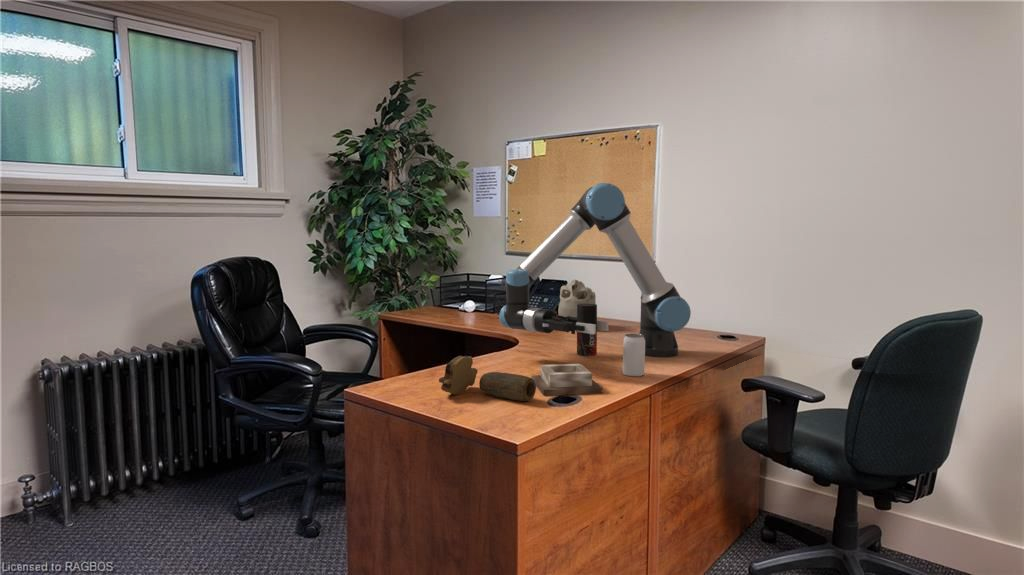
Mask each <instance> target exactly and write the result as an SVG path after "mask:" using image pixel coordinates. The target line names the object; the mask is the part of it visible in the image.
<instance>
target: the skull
mask: <svg viewBox="0 0 1024 575" xmlns="http://www.w3.org/2000/svg"><path fill="white" fill-rule="evenodd" d="M559 292H560V293H559V294H560V295H559V299H560V301H559V303H558V304H559V305H558V310H557V312H558V315H560V316H564V317H567V316H571V317H577V304H597V303H596V293H595V291H593V290H592V289H591V288H590V287H589V286H588V287H586V286H585V284H584V283H583V282H582V281H579V280H577V279H572V280H571V281H570V283H568V284H566V285H565V284H564V285H562V286H561V287H560V290H559Z"/></svg>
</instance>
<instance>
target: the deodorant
mask: <svg viewBox="0 0 1024 575" xmlns="http://www.w3.org/2000/svg"><path fill="white" fill-rule="evenodd" d="M597 321H598V304H597V303H596V304H577V322H578V323H586V324H595V325H596V334H589V333H582V332H576V355H577V356H581V357H595V356H597V354H598V352H597V351H598V350H597V348H598V347H597V346H598V345H597V344H598V342H597V341H598V340H597V338H598V337H597V336H598V334H597V333H598V330H597Z"/></svg>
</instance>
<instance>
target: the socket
mask: <svg viewBox="0 0 1024 575" xmlns="http://www.w3.org/2000/svg"><path fill="white" fill-rule="evenodd" d="M531 378H532V379H533V380H534V381H535V384H536V389H538V391H540V393H541V394H542V395H543V396H544V397H545V396H546V397H547V396H568V395H567V394H572V395H592V394H593V395H595V394H603V386H601V385H600V384H598V383H597V382H596V381H595V380H594V379H593V373H592V372H591V371H590V370H589V369H587V368H586V367H585V366H584V365H582V363H565V364H564V363H561V364H559V363H558V364H557V363H556V364H540V374H538V375H537V374H536V375H533V374H531Z"/></svg>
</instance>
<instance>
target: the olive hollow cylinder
mask: <svg viewBox="0 0 1024 575" xmlns="http://www.w3.org/2000/svg"><path fill="white" fill-rule="evenodd" d="M478 385H479V389H480V391H481V392H483V393H484V394H487V395H489V396H493V397H496V398H501V399H506V400H511V401H519V402H530V401H532V399H533V398H535V397H534V396H535V394H536V391H537V387H536V384H535V381H534V380H533V379H532V377H529V376H527V375H524V374H516V373H511V372H510V373H509V372H502V371H501V372H500V371H492V372H491V371H490V372H489V371H488V372H486V373H484V374H482V375H481V377H480V378H479V384H478Z"/></svg>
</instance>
